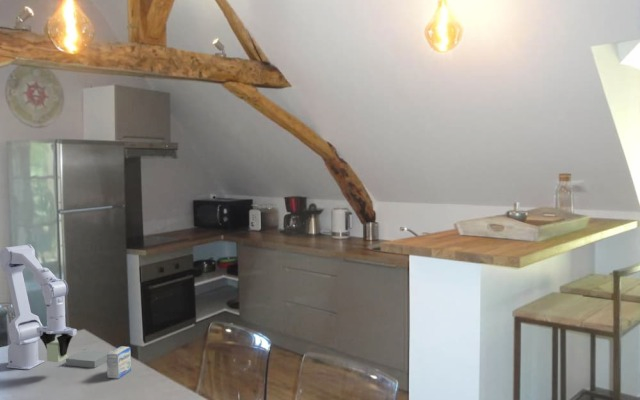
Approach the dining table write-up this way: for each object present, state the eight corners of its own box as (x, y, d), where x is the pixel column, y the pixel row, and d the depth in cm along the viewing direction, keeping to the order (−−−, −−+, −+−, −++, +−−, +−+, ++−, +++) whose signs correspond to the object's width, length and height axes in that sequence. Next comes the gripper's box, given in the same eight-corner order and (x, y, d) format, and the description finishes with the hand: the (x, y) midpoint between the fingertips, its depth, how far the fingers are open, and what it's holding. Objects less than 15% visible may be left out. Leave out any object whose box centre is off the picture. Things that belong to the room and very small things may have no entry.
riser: (66, 365, 191) (65, 358, 191) (84, 355, 201) (84, 349, 200) (94, 368, 188) (94, 361, 188) (111, 358, 198) (111, 351, 198)
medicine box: (118, 379, 178) (118, 354, 178) (106, 378, 179) (106, 353, 179) (131, 370, 186) (130, 346, 185) (120, 369, 187) (119, 345, 186)
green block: (47, 361, 179) (46, 344, 179) (56, 356, 184) (56, 339, 183) (58, 362, 178) (57, 345, 178) (67, 357, 183) (67, 340, 182)
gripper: (29, 317, 178) (30, 356, 178) (66, 320, 174) (67, 360, 175) (44, 312, 184) (45, 349, 185) (80, 314, 181) (81, 353, 182)
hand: (57, 354), depth 181 cm, fingers closed on green block, 4 cm apart
